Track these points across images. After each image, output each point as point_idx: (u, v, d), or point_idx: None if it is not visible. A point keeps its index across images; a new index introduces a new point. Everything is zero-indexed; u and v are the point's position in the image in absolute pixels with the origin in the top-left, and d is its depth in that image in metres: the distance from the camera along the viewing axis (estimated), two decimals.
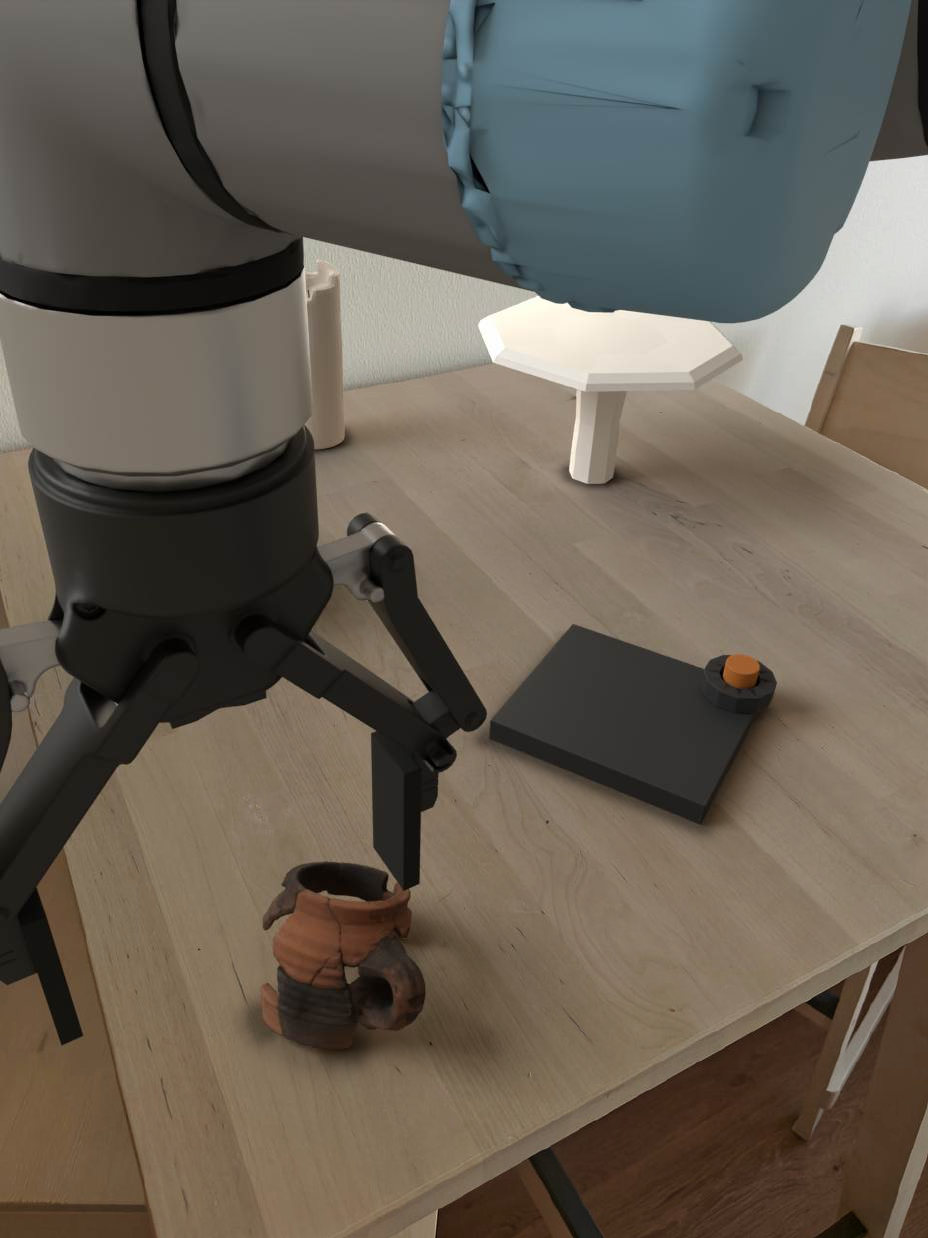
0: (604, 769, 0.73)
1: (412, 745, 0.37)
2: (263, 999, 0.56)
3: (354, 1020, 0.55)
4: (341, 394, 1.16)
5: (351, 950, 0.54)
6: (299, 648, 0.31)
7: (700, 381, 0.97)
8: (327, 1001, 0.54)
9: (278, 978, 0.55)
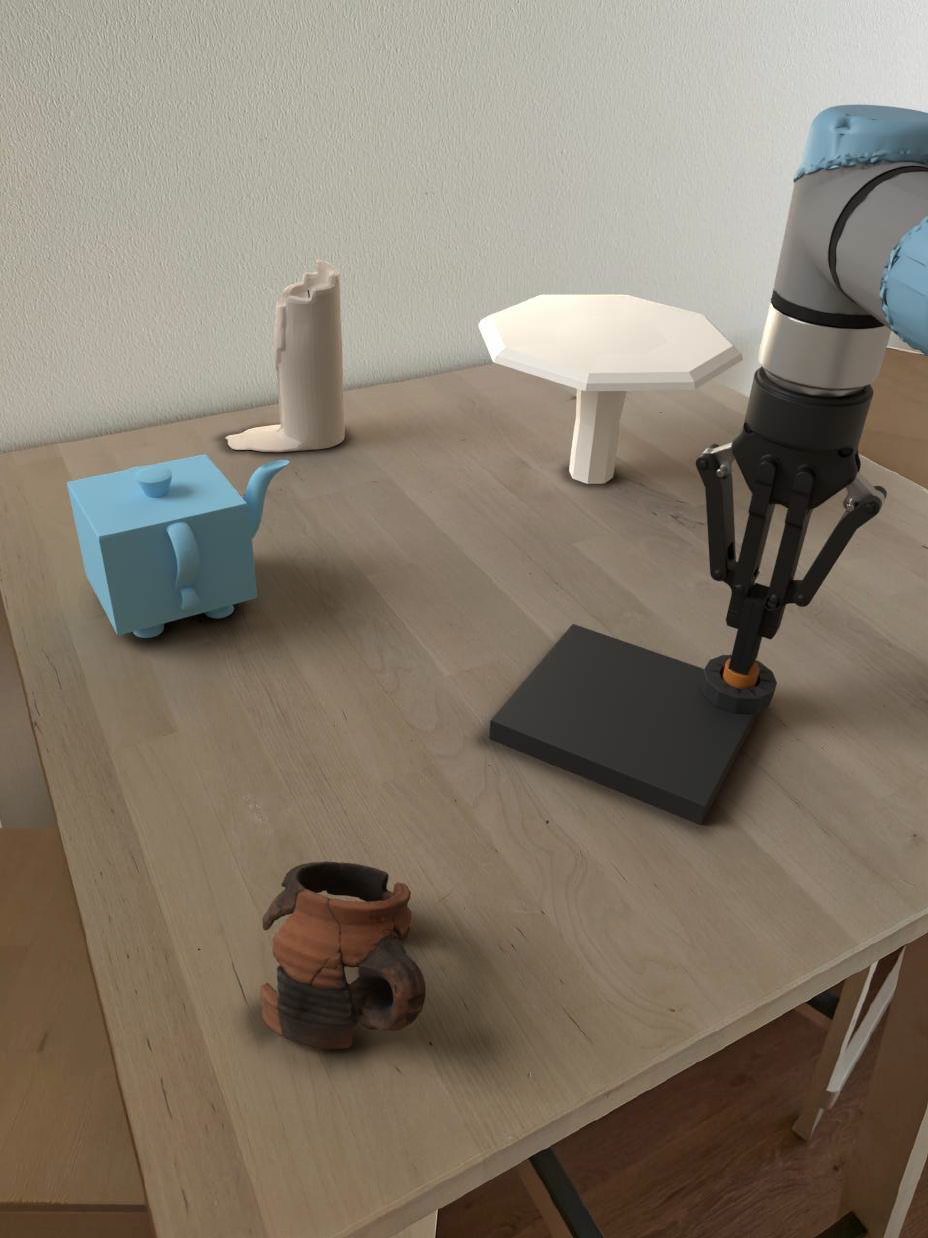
0: (604, 769, 0.73)
1: (773, 586, 0.73)
2: (263, 999, 0.56)
3: (354, 1020, 0.55)
4: (341, 394, 1.16)
5: (351, 950, 0.54)
6: (807, 498, 0.68)
7: (701, 381, 0.97)
8: (327, 1001, 0.54)
9: (278, 978, 0.55)
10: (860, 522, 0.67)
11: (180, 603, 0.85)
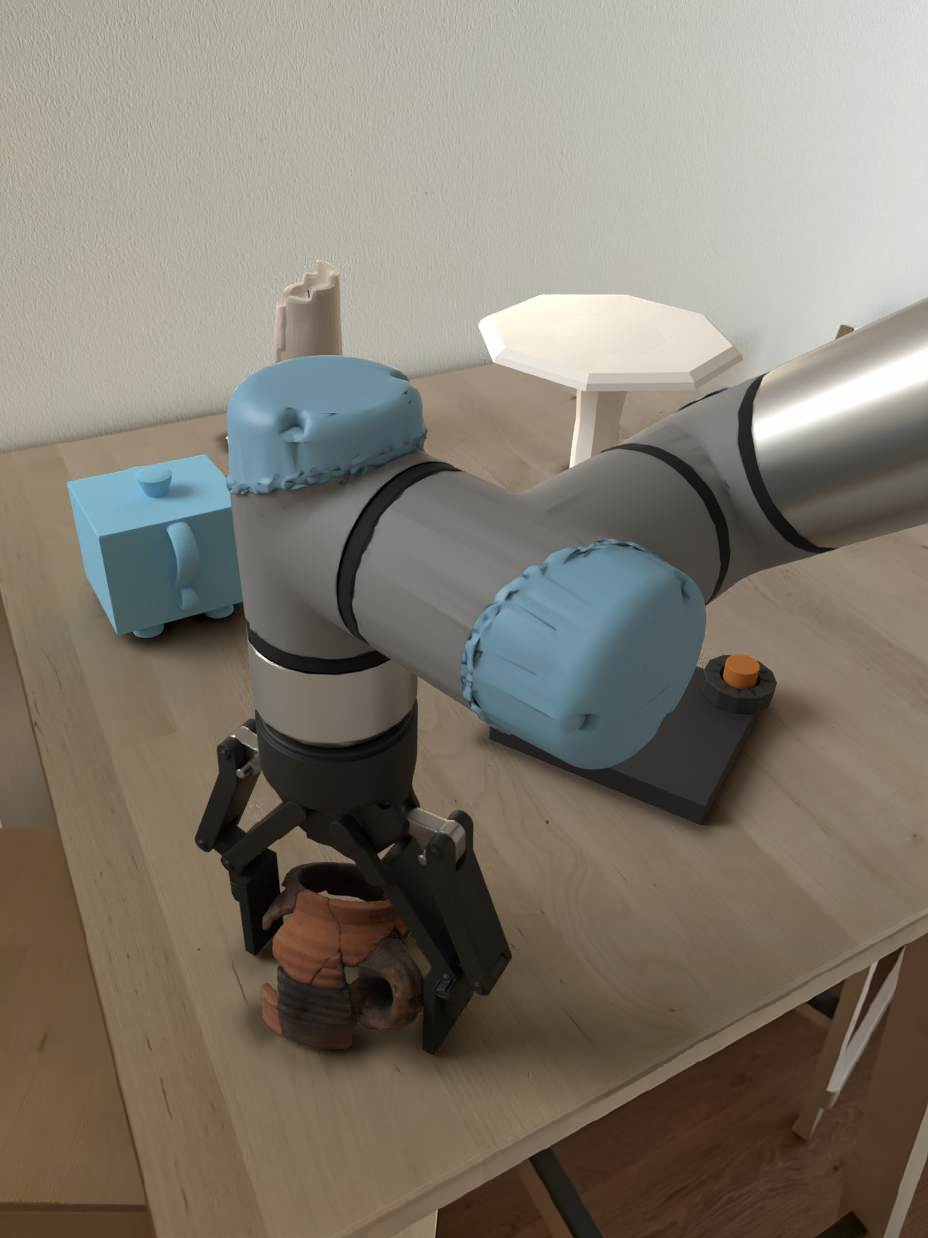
0: (604, 769, 0.73)
1: (433, 964, 0.51)
2: (263, 999, 0.56)
3: (354, 1020, 0.55)
4: None
5: (351, 950, 0.54)
6: (362, 850, 0.48)
7: (701, 381, 0.97)
8: (327, 1001, 0.54)
9: (278, 978, 0.55)
10: (444, 873, 0.47)
11: (180, 603, 0.85)
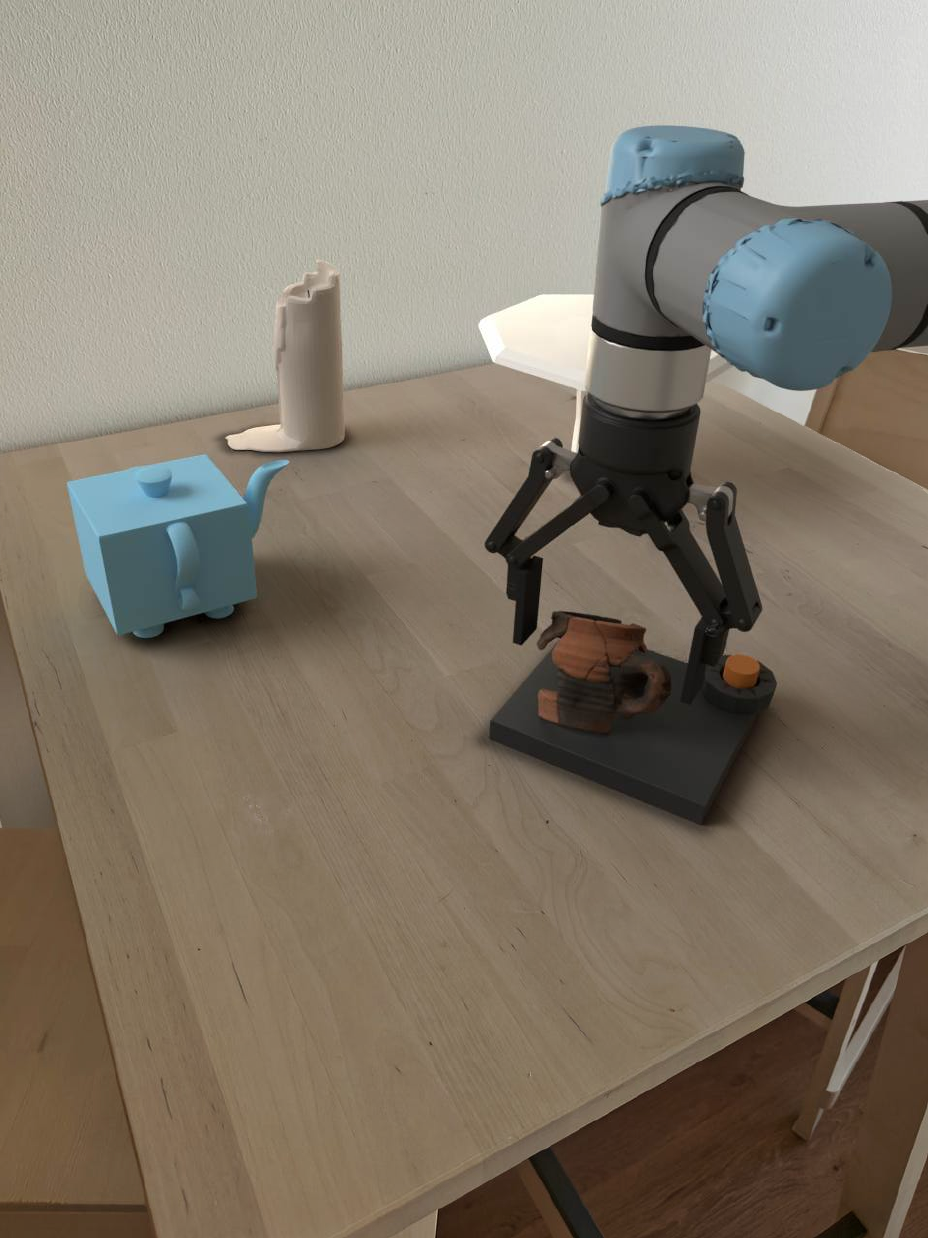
0: (604, 769, 0.73)
1: (704, 613, 0.68)
2: (542, 698, 0.76)
3: (614, 708, 0.75)
4: (341, 394, 1.16)
5: (614, 654, 0.74)
6: (654, 517, 0.66)
7: None
8: (597, 692, 0.74)
9: (559, 677, 0.74)
10: (721, 522, 0.64)
11: (180, 603, 0.85)
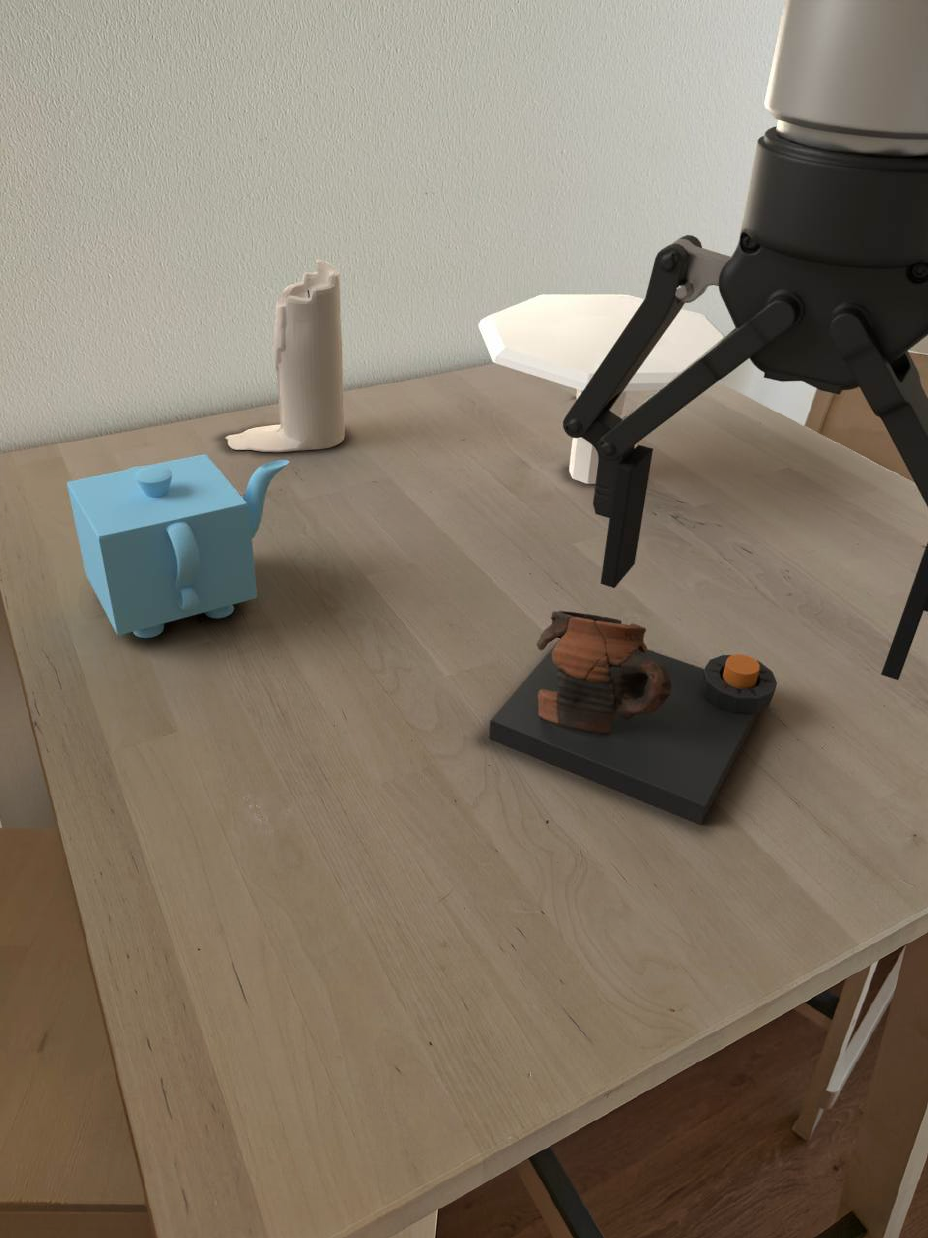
0: (604, 769, 0.73)
1: None
2: (542, 698, 0.76)
3: (614, 708, 0.75)
4: (341, 394, 1.16)
5: (614, 654, 0.74)
6: (875, 353, 0.38)
7: None
8: (597, 692, 0.74)
9: (558, 677, 0.74)
10: None
11: (180, 603, 0.85)
